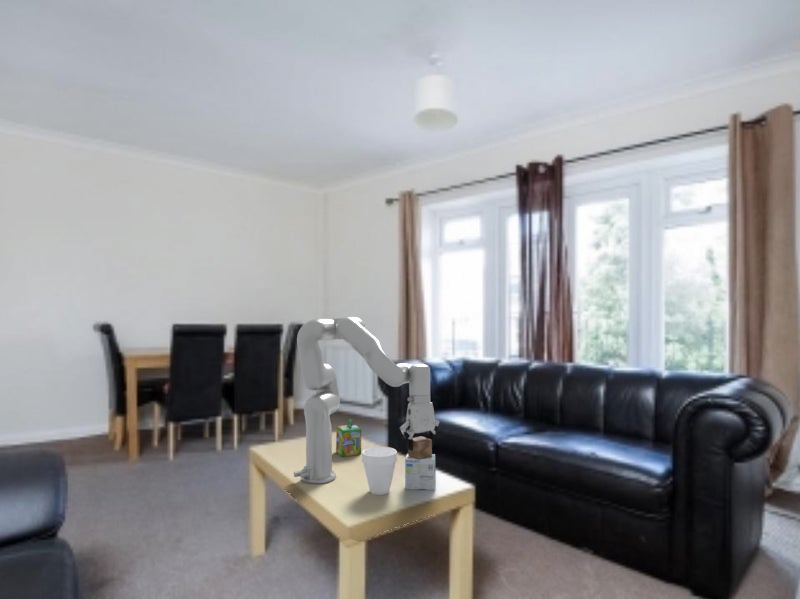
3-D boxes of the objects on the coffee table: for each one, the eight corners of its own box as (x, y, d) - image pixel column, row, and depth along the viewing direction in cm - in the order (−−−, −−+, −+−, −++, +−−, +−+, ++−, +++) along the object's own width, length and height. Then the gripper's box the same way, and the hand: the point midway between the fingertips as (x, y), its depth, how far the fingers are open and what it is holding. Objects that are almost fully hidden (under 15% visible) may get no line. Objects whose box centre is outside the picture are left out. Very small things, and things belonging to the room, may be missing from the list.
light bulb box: (436, 483, 169) (435, 453, 169) (435, 490, 162) (435, 459, 162) (406, 482, 170) (406, 453, 170) (404, 489, 163) (404, 458, 163)
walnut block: (418, 459, 162) (418, 442, 162) (408, 455, 167) (408, 438, 167) (431, 456, 165) (431, 439, 166) (421, 452, 170) (421, 436, 171)
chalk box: (335, 452, 209) (335, 418, 210) (355, 449, 213) (354, 416, 214) (342, 457, 201) (341, 423, 201) (362, 454, 205) (361, 420, 205)
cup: (378, 482, 170) (378, 444, 171) (404, 490, 163) (404, 450, 163) (354, 492, 161) (354, 452, 161) (381, 500, 153) (380, 459, 154)
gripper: (407, 403, 159) (407, 454, 158) (444, 398, 169) (445, 445, 169) (394, 400, 165) (394, 449, 164) (431, 395, 175) (432, 441, 175)
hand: (420, 447), depth 166 cm, fingers open, 9 cm apart
